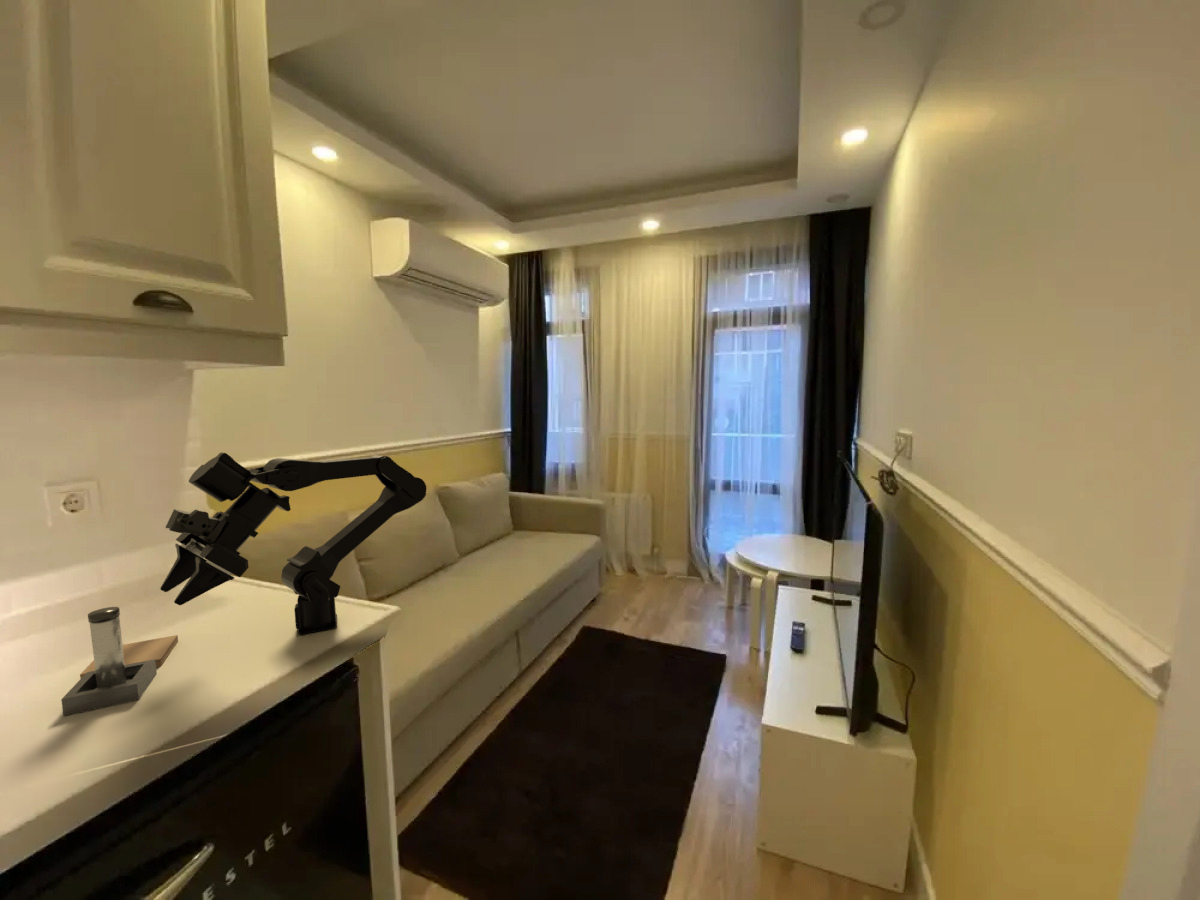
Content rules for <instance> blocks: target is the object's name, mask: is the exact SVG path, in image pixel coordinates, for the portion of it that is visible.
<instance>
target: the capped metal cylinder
mask: <svg viewBox="0 0 1200 900" xmlns="http://www.w3.org/2000/svg"><path fill="white" fill-rule="evenodd" d="M120 616H121V613H120V607H119V606H108V607H104V608H103V607H102V608H100V609H96V610H93V611H90V612H89V613H88V614H87V620H88V623H89V629H90V637H91V645H92V652H93V653H92V655H93V661H94V664H95V672H96V680H97V688H95V689H99V688H104V687H109V686H114V685H119V684H124V683H129V682H131V680H132V679H126V671H125V662H124V653H123V645H124V644H123V637H122V627H121V618H120Z"/></svg>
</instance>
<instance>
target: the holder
mask: <svg viewBox="0 0 1200 900" xmlns="http://www.w3.org/2000/svg"><path fill="white" fill-rule="evenodd" d="M125 671H126V679H132V680H131V682H129V683H124V684H119V685H114V686H109V687H104V688H99V689H95V688H97V680H96V672H95V671H91V672H87V673H86V674H85V675H84V676H83V677H82V678H80V679H79V680H78V681H77V682H76V683H75V684H74V685H73V687H71V688H70V689H69V690H68V692H67V693H65V695H64V696H63V697H62V698H61V700H60V701H61V708H62V714H63V717H66V716H69V715H74V714H79V713H84V712H89V711H94V710H98V709H102V708H107V707H111V706H116V705H122V704H126V703H130V702H135V701H140V699H141V697H142V696H143V694H144V693H145V691H146V690H147V688H148V687H149V685H150V684H151V683H152V681H153V679H154V678H155V677H156V675H157V667H156V664H155V659H153V660H148V661H143V662H138V663H132V664H127V665H125Z"/></svg>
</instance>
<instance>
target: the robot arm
mask: <svg viewBox="0 0 1200 900" xmlns="http://www.w3.org/2000/svg"><path fill="white" fill-rule="evenodd" d="M367 476H368V477H369V476H375V477H376V478H377V479H378V481H379V482H380V483H381V484H382V485H383V486H384V487H383V489H382V491H381V492H380V495H379V497H378V499H377V500H376V501H375V502H373V503H372V504H371V505H369V507H367V509H365V510H364V511H362V512H361V513H360V514H359V515H358V516H356V517H355V518H354V519H352V521H351V522H349V523H348V524H347V525H345V527H343V528H342V529H341V530H339V531H338V532H337V533H336V534H334V536H332V537H331V538H330V539H329V540H327V541H326V542H325V543H323V545H320V546H319V547H318V546H317V548H312V547H311V546H308V545H305V546H304V547H302V548H301V549H300V550H298V552H297V553H296V554H295V555H293V556H292V557H290V558H287V559H286V562H287V563H286V564H285V566H283V568H282V570H281V577H280V578H281V582H282V584H283V585H284V586H285V587H287V588H289V589H290V590H292V591H293V592H294V594H295V595H298V596H297V600H296V602H297V603H296V604H295V605H294V623H295V629H296V630H298V632H297V634H298V635H306V634H311V633H312V634H313V633H316V632H317V633H318V632H322V631H327V630H331V629H332V630H333V629H336V628H338V615H337V611H336V610H337V608H336V598H337V597H339V594H340V589H341V585H340V584H338V583H336V582H334V581H332V580H331V578H332V577H333V576H334V574H335V573H336V570H337V568H338V566H339V565H340V562H341V561H342V560H344V559H345V558H346V557H347V556H348V555H349V554H350V553H351V552H353V551H354V550H355V549H356V548H357V547H359V546H360V544H362V543H363V542H365V541H366V540H367V539H368V538H369V537H370V536H371V535H372V534H373V533H374V532H376V531H377V530H378V529H380V528H381V527H382V526H383V525H384V524H386V523H387V522H388V520H390V519H391V518H392V517H393V516H395V515H396V514H399V513H401V512H403V511H406V510H409V509H411V508H413V507H414V506H416V505H417V504H419V503H420V502H422V501H423V500H424V499H425V498H426V495H427V485H426V482H425V481H424V480H423V479H422V478H420V477H416V476H414V475H413V474H412V473H411V472H410V471H408V470H406V469H405V468H403V467H402V466H400V465H399V464H398V463H397V462H395V461H394V460H393V459H392V458H391V457H390V456H388V455H380V454H379V455H377V454H374V455H372V456H364V457H354V458H352V457H351V458H342V459H341V458H340V459H331V460H317V461H316V460H305V459H294V458H282V457H281V458H280V457H278V458H277V457H276V458H273V459H270V460H269V461H267V462H266V463H265V465H264V466H263V465H262V466H259V467H255V468H250V469H248V468H245V467H244V466H243V465H241V464H240V463H239V462H237V461H236V460H235V459H234V458H233V457H232V456H231V455H229V454H228V453H226V452H223V451H222V452H221V451H220V453H218V455H216V456H215V457H212V458H211V459H210V460H208V461H207V462H205V463H204V464H201V465H200V466H199V467H198V468H197V469H196V470H195V471H194V472H193V473H192V474H191V476H190V477H189V478H188V483H189V484H190V485H192V486H194V487H195V488H197V489H199V491H202V492H203V493H205V494H207V495H208V496H209V497H212V498H213V499H215V500H216V501H218V502H219V503H222V502H223V503H224V502H226V501H227V500H228V501H230V502H232V501H234V502H233V503H232V504H231V505H230V506H229V507H228V508H227V509H226V510H225V511H224V512H223V511H221V510H220V511H217V512H216V513H215V514H214V515H213V516H210V514H209V512H206V511H202V510H198V509H194V510H193V511H184V510H180V509H176V508H174V509H173V511H172V512H171V515H170V517H169V519H168V521H167V523H166V525H165V529H168V530H169V531H171V532H174V533H179V536H178V537H177V538H176V539H175V541H177V542H178V543H180V544H181V545H180V544H178V543H175V544H174V545H175V549H176V554H177V555H176V556H177V557H176V558H175V559H176V560H175V561H174V563H173V565H172V567H171V569H170V570H169V572H168V574H167V575H166V577H165V579H164V581H163V583H162V584H161V586H160V588H159V589H160V591H162V592H163V593H168V592H170V591H171V590H173V589H174V588H176V587H178V586H180V585H181V584H182V583H184V582H185V581H187V580H188V581H187V582H186V583H185V585H183V587H182V589H181V590H180V591H179V593H178V594H177V596H176V598H175V599H174V600H173V603H174V604H176V605H178V606H182V605H184V604H187V603H188V602H190V601H192V600H193V599H195V598H198V597H199V596H201V595H203V594H204V593H207V592H208V591H211V590H213V589H215V588H217V587H218V586H221V585H223V584H225V583H227V582H230V581H233V580H235V576H236V577H237V578H241V577H242V576H243V575H244V573H245V572H247V570H248V569H249V560H248V559H247V558H245V557H243V555H241V552H240V551H239V549H241V548H242V546H243V545H244V544H245V543H246V542H247V541H248V539H250V538H251V537H252V538H254V539H255V538H256V536H258V534H259V532H258V531H257V530H258V529H259V527H260V526H261V525H262V524H263V523H264V522H265V521H266V520H267V518H269V516H271V514H272V513H273V512H274V511H275V510H276V509H277V508H278V509H279V510H282V511H285V512H290V511H291V504H290V496H288V495H285V494H284V495H279V494H278V493H277V492H275V491H273V490H272V489H277V490H279V491H283V492H293V491H298V490H301V489H304V488H308V487H311V486H313V485H316V484H318V483H321V482H325V481H331V480H339V479H340V480H342V479H348V478H349V479H350V478H358V477H367ZM252 482H254V483H259V484H262V485H267V486H269V487H264V488H259V487H257V486H256V485H255V484H253V483H252ZM271 488H272V489H271ZM233 575H235V576H233Z"/></svg>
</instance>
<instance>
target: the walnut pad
mask: <svg viewBox="0 0 1200 900" xmlns="http://www.w3.org/2000/svg"><path fill="white" fill-rule="evenodd" d="M178 642H179V636H178V634H175V635H171V636H170V635H169V636H165V637H159V638H153V639H148V640H143V641H142V640H141V641H136V642H132V643H131V642H129V643H126V644H123V653H124V662H125V665H127V664H132V663H138V662H143V661H148V660H153V659H155V664H156V668H158V667H162V666H163V664H164V663H165V661H167V658H168V657H169V655H170V653H171V652H172V651H173V649H175V647H176V645H177V644H178ZM91 671H95V664H94V660H92V661H91V662H90V664H89V665H87V666H86V668H84V670H83V671H82V672H81V673H80V674H79V677H80V679H81V678H82V677H83V676H84V675H85V674H86V673H87V672H91Z"/></svg>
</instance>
